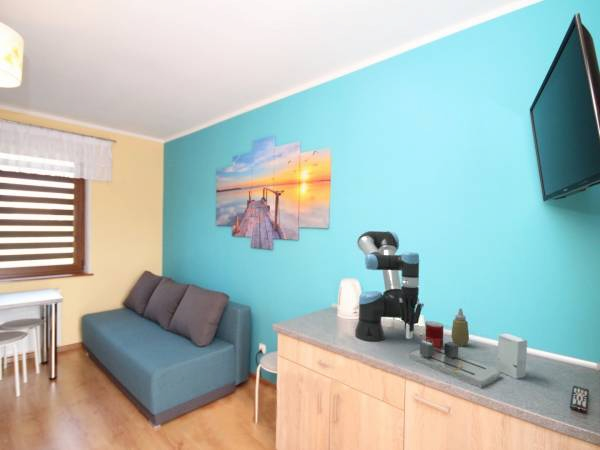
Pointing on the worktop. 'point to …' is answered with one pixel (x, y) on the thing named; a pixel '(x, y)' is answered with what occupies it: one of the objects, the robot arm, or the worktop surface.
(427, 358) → the console
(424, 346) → the fader
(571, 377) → the worktop surface
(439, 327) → the canned food
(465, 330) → the squeeze bottle
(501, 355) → the skincare box
